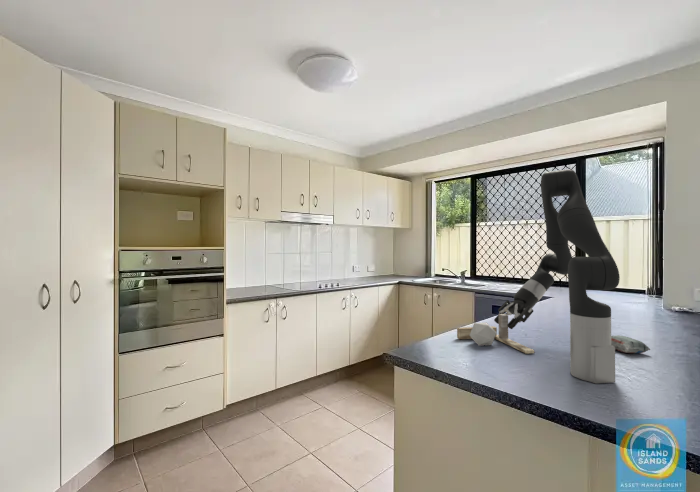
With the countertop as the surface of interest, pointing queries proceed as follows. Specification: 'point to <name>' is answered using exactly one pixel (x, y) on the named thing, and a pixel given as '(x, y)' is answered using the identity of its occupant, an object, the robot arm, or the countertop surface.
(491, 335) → the die
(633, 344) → the packaged food
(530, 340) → the countertop surface
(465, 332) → the l-shaped corner bracket
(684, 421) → the countertop surface
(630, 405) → the countertop surface
